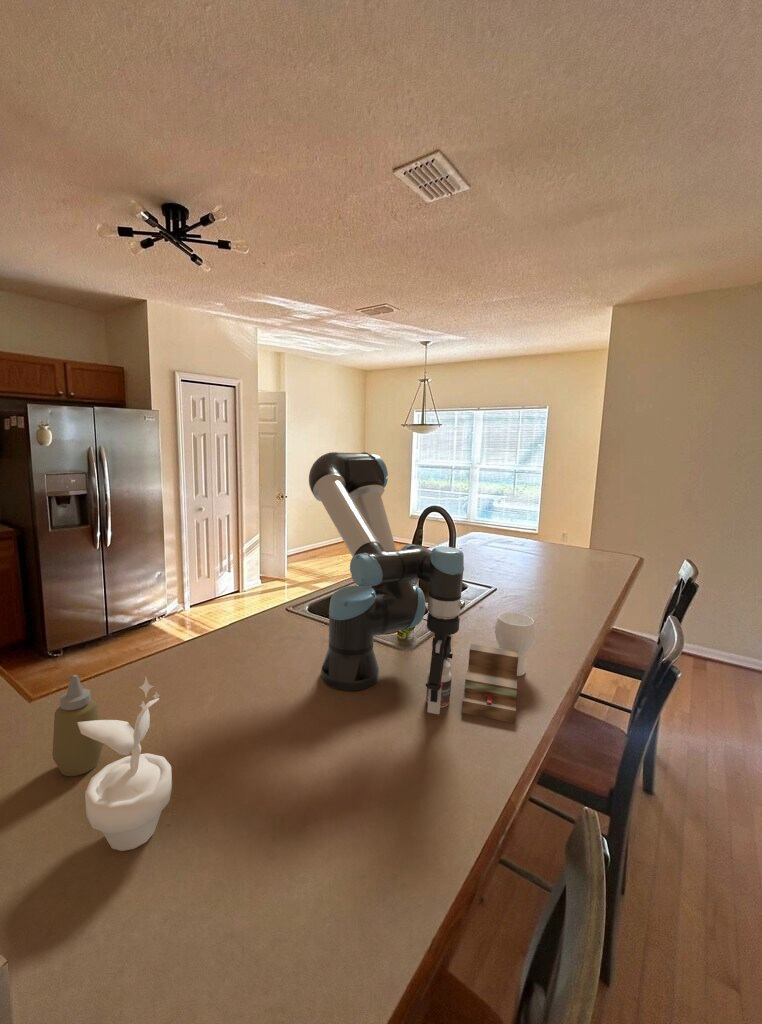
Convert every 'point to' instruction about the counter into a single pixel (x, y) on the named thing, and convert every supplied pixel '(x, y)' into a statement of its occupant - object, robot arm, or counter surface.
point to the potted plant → (127, 782)
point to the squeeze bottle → (75, 731)
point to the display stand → (491, 683)
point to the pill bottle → (443, 685)
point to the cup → (515, 635)
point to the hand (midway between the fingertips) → (438, 697)
